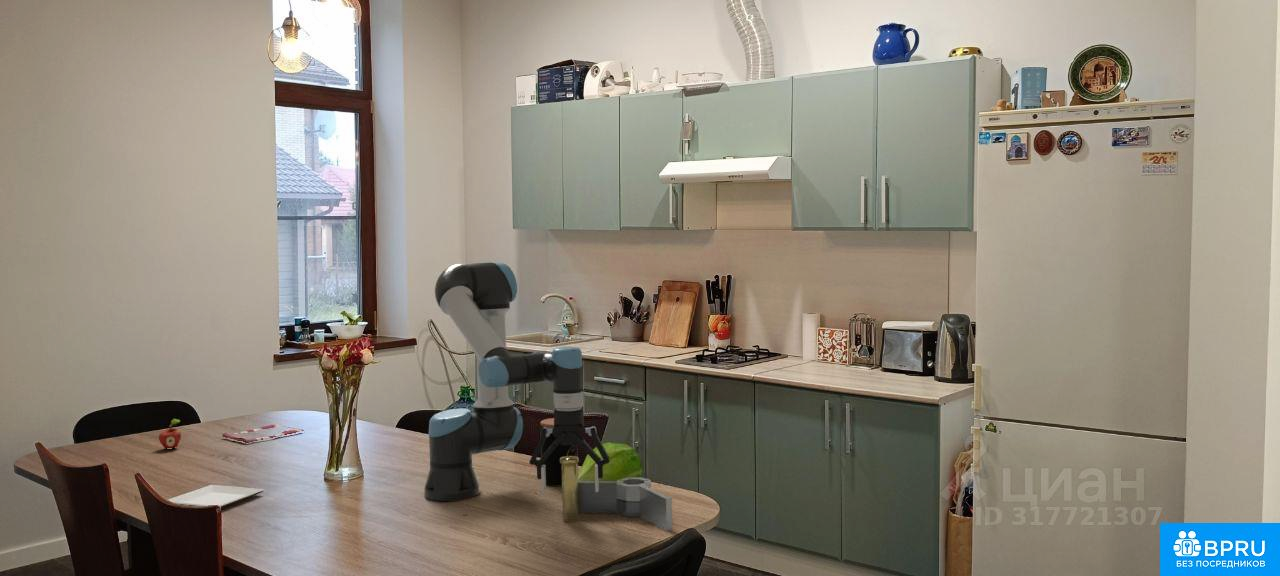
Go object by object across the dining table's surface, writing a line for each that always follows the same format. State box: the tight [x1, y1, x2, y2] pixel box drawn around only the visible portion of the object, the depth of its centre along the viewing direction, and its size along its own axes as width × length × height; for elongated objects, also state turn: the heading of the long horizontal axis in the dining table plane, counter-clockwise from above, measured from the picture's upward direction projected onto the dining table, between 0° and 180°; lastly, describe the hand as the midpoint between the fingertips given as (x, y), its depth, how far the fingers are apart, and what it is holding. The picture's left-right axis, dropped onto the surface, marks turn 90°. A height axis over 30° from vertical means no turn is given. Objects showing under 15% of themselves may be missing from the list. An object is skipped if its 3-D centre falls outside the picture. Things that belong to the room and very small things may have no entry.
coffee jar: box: [540, 417, 579, 487], centre depth 290 cm, size 11×11×18 cm
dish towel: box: [221, 424, 305, 443], centre depth 361 cm, size 17×23×3 cm
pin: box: [560, 456, 580, 524], centre depth 252 cm, size 5×5×16 cm
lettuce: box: [578, 442, 643, 481], centre depth 277 cm, size 15×22×15 cm
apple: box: [158, 418, 182, 449], centre depth 342 cm, size 8×7×10 cm
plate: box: [167, 484, 265, 509], centre depth 275 cm, size 19×19×2 cm
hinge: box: [578, 477, 673, 532], centre depth 253 cm, size 28×21×8 cm
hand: (570, 491), depth 252 cm, fingers open, 13 cm apart
